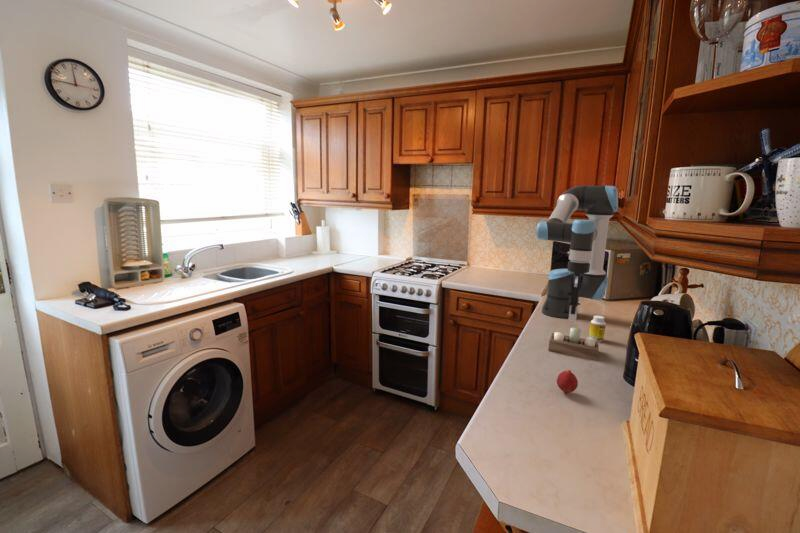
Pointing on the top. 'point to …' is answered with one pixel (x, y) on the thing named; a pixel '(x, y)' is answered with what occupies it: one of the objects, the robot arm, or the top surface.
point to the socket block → (574, 348)
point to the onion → (567, 381)
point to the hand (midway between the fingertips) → (572, 321)
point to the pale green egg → (574, 335)
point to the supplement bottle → (597, 328)
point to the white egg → (590, 341)
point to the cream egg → (559, 336)
